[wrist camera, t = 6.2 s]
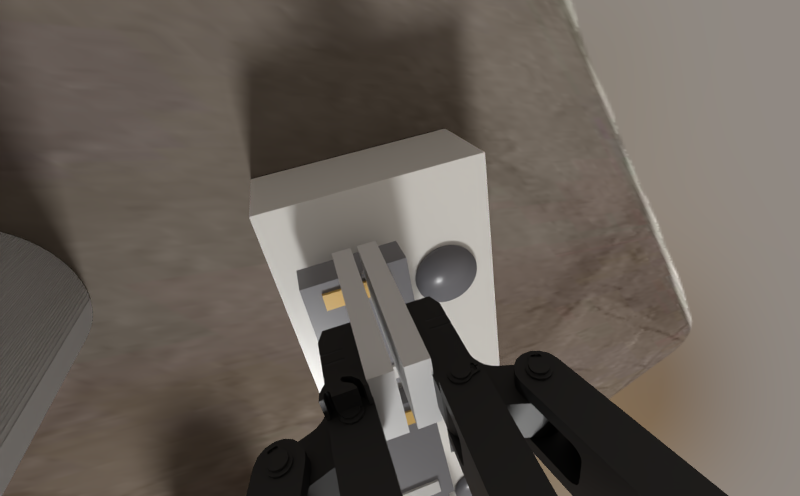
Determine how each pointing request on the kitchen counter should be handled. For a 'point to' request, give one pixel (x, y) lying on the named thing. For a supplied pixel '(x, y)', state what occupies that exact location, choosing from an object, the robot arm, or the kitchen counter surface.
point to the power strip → (389, 234)
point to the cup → (34, 340)
